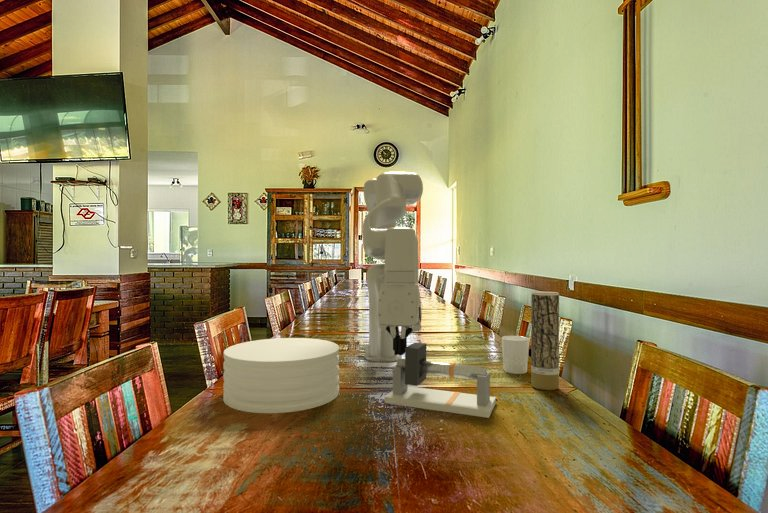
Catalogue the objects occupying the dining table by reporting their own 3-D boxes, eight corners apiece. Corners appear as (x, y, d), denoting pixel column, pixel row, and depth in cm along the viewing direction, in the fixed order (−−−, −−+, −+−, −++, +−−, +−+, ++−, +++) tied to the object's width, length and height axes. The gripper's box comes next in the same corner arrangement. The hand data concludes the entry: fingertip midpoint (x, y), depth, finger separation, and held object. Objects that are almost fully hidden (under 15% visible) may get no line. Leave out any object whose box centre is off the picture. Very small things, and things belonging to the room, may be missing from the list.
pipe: (396, 372, 106) (396, 359, 106) (400, 369, 109) (400, 357, 109) (484, 382, 98) (484, 368, 98) (486, 378, 100) (486, 365, 100)
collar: (405, 384, 103) (405, 347, 103) (414, 376, 109) (414, 342, 109) (417, 385, 102) (417, 348, 102) (426, 378, 108) (426, 343, 108)
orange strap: (444, 404, 98) (444, 367, 98) (455, 392, 107) (455, 358, 107) (450, 405, 97) (450, 368, 97) (460, 392, 106) (460, 358, 106)
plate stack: (197, 401, 105) (197, 353, 105) (277, 373, 129) (277, 334, 129) (290, 422, 91) (290, 367, 91) (359, 387, 116) (359, 343, 116)
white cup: (532, 374, 128) (532, 340, 128) (505, 374, 128) (505, 340, 128) (524, 368, 136) (524, 335, 136) (498, 367, 136) (498, 335, 136)
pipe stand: (384, 403, 103) (384, 368, 103) (399, 391, 112) (399, 359, 112) (488, 417, 94) (488, 380, 94) (495, 403, 103) (495, 369, 103)
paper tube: (561, 392, 112) (561, 293, 112) (533, 390, 113) (533, 293, 113) (556, 384, 119) (556, 291, 119) (529, 383, 120) (530, 291, 120)
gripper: (365, 278, 106) (365, 354, 106) (424, 279, 101) (424, 360, 101) (378, 277, 113) (377, 348, 113) (434, 278, 108) (433, 353, 108)
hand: (399, 353), depth 107 cm, fingers closed
